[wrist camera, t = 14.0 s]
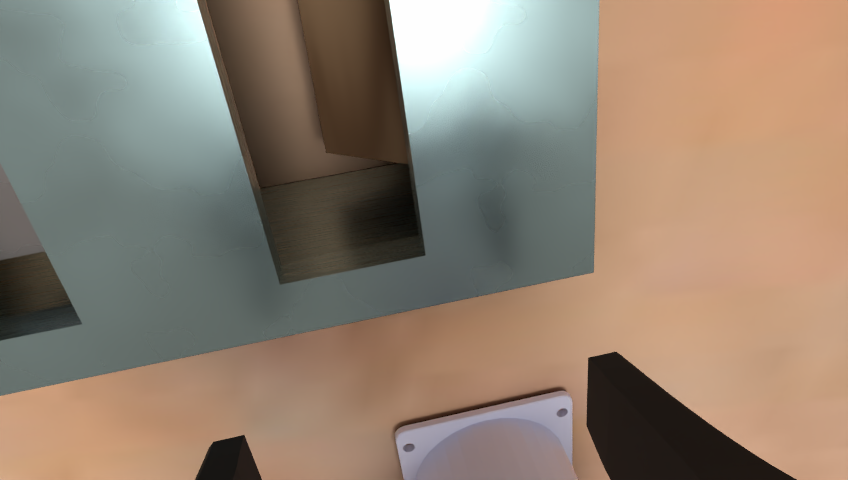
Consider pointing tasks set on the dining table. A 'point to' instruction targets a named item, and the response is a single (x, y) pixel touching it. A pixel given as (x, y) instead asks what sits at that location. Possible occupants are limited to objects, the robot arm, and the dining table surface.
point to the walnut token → (354, 78)
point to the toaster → (284, 204)
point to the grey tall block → (15, 224)
